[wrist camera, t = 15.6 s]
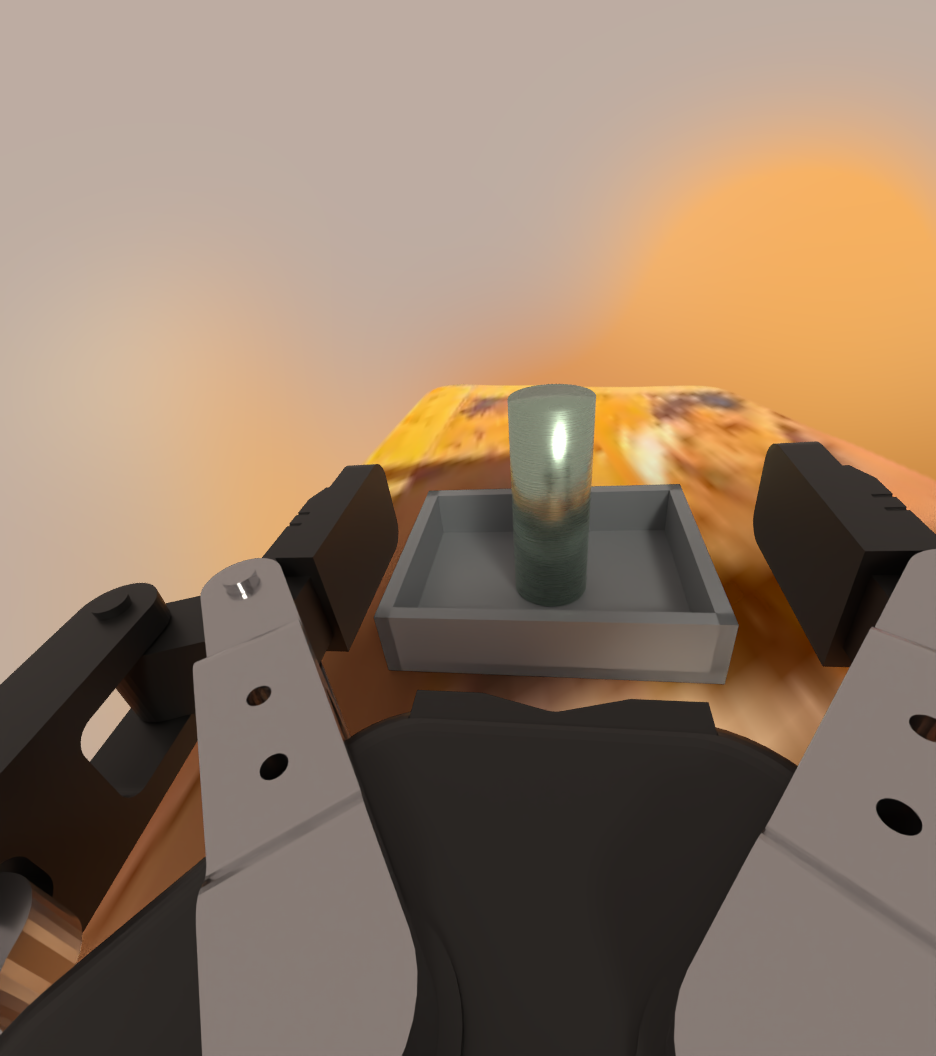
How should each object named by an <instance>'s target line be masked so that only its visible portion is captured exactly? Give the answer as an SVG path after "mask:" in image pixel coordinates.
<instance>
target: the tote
mask: <svg viewBox="0 0 936 1056" xmlns="http://www.w3.org/2000/svg"><path fill="white" fill-rule="evenodd" d="M374 620H375V623H376V627H377V630H378V634H379V637H380V641H381V644H382V648H383V651H384V655H385V659H386V662H387V666H388V669H389V670H401V671H425V672H449V673H472V674H496V675H520V676H544V677H568V678H591V679H615V680H639V681H663V682H686V683H710V684H725V680H726V676H727V672H728V668H729V664H730V659H731V655H732V651H733V647H734V643H735V639H736V634H737V630H738V626H739V625H738V623H737V620H736V618H735V615H734V613H733V611H732V608H731V606H730V603H729V601H728V599H727V596H726V594H725V591H724V589H723V587H722V584H721V582H720V579H719V577H718V575H717V572H716V570H715V567H714V565H713V563H712V560H711V558H710V555H709V553H708V551H707V548H706V546H705V543H704V541H703V539H702V536H701V534H700V531H699V529H698V527H697V524H696V522H695V520H694V517H693V515H692V512H691V510H690V508H689V505H688V503H687V500H686V498H685V496H684V493H683V491H682V488H681V486H680V484H669V485H632V486H595V487H591V502H590V521H589V541H588V560H587V580H586V590H585V592H584V594H583V595H582V596H581V597H580V598H579V599H578V600H576V601H574V602H572V603H570V604H567V605H562V606H542V605H537V604H534V603H532V602H529V601H528V600H526V599H524V598H523V597H522V596H521V595H520V594H519V593H518V591H517V589H516V580H515V557H514V534H513V511H512V489H483V490H446V491H429V492H428V495H427V497H426V499H425V502H424V504H423V506H422V508H421V511H420V513H419V515H418V518H417V520H416V522H415V524H414V527H413V529H412V531H411V534H410V536H409V538H408V540H407V543H406V545H405V547H404V550H403V552H402V554H401V556H400V559H399V561H398V563H397V565H396V568H395V570H394V572H393V575H392V577H391V579H390V581H389V584H388V586H387V588H386V591H385V593H384V595H383V597H382V600H381V602H380V604H379V607H378V609H377V611H376V613H375V616H374Z"/></svg>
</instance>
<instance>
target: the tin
mask: <svg viewBox="0 0 936 1056" xmlns="http://www.w3.org/2000/svg"><path fill="white" fill-rule="evenodd" d="M595 403H596V395H595V393H594V392H593V391H591V390H590V389H587V388H584V387H581V386H576V385H567V384H547V385H537V386H532V387H527V388H524V389H520V390H518V391H516V392H514V393H512V394H511V395H510V396H509V397H508V418H509V441H510V465H511V488H512V511H513V534H514V557H515V580H516V589H517V591H518V593H519V594H520V595H521V596H522V597H523V598H524V599H526V600H528V601H529V602H532V603H534V604H537V605H542V606H562V605H567V604H570V603H572V602H574V601H576V600H578V599H579V598H580V597H581V596H582V595H583V594H584V592H585V590H586V580H587V560H588V541H589V521H590V502H591V482H592V462H593V443H594V423H595Z"/></svg>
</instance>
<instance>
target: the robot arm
mask: <svg viewBox="0 0 936 1056" xmlns="http://www.w3.org/2000/svg"><path fill="white" fill-rule="evenodd" d="M298 513H299V515H297V516H295V517H294V519H293V520H292V521H291V522H290V526H288V527H286V529H285V530H284V531H283V532H282V534H281V535H280V536H279V537H278V538H277V540H276V541H275V542H274V544H273V545H272V546H271V547H270V548H269V550H268V551H267V552H266V553H265V555H264V556H263V557H262V558H255V559H250V560H245V561H242V562H239V563H236V564H234V565H231V566H229V567H227V568H225V569H223V570H222V571H220V572H219V573H217V574H216V575H215V576H213V577H212V578H211V579H210V580H209V581H208V582H207V583H206V585H205V586H204V587H203V589H202V592H201V596H197V597H193V598H189V599H184V600H179V601H175V602H170V603H166V604H165V602H164V600H163V599H162V597H161V596H160V594H159V592H158V591H157V589H156V588H155V587H154V586H153V585H151V584H147V583H135V584H130V585H126V586H122V587H119V588H116V589H113V590H111V591H109V592H106V593H104V594H102V595H101V596H99V597H97V598H95V599H94V600H92V601H91V602H89V603H88V604H86V605H85V606H84V607H83V608H82V609H80V610H79V611H78V612H77V613H76V614H75V615H74V616H73V617H72V618H71V619H70V620H69V621H68V622H66V623H65V624H64V625H63V626H62V627H61V628H60V629H59V630H58V631H57V632H56V633H55V634H54V635H53V636H52V637H51V638H49V639H48V640H47V641H46V642H45V643H44V644H43V645H42V646H41V647H40V648H39V649H38V650H37V651H36V652H35V653H34V654H33V655H31V656H30V657H29V658H28V659H27V660H26V661H25V662H24V663H23V664H22V665H21V666H20V667H19V668H18V669H17V670H16V671H14V673H12V674H11V675H10V676H9V677H8V678H7V679H6V680H5V681H4V682H3V683H2V684H1V685H0V1056H936V534H935V533H934V532H933V531H931V530H930V529H929V528H928V527H927V526H926V525H925V524H924V523H923V522H922V521H921V520H920V519H919V518H918V517H917V516H916V515H915V514H914V513H912V512H911V511H910V510H906V506H905V505H904V504H903V503H902V502H901V501H900V500H899V499H898V498H897V497H892V493H891V492H890V491H889V490H888V489H887V488H886V487H885V486H884V485H883V484H882V483H881V482H880V481H879V480H878V479H877V478H875V477H873V476H871V475H869V474H866V473H864V472H862V471H860V470H858V469H856V468H854V467H852V466H850V465H844V466H842V465H841V464H840V463H839V462H838V461H837V460H836V459H835V458H834V457H833V456H832V455H831V454H830V452H829V451H828V450H827V449H826V448H825V447H824V446H823V445H822V444H820V443H819V442H799V443H780V444H772V445H771V446H770V447H769V449H768V451H767V454H766V457H765V462H764V467H763V472H762V477H761V481H760V486H759V491H758V496H757V501H756V506H755V510H754V518H753V528H754V535H755V539H756V542H757V544H758V546H759V548H760V550H761V552H762V554H763V555H764V557H765V559H766V561H767V563H768V565H769V567H770V569H771V570H772V572H773V574H774V576H775V578H776V580H777V582H778V583H779V585H780V587H781V589H782V591H783V593H784V595H785V597H786V598H787V600H788V602H789V604H790V606H791V608H792V610H793V611H794V613H795V615H796V617H797V619H798V621H799V623H800V625H801V626H802V628H803V630H804V632H805V634H806V636H807V638H808V639H809V641H810V643H811V645H812V647H813V649H814V651H815V653H816V654H817V656H818V658H819V660H820V662H821V664H822V666H829V667H850V668H849V670H848V672H847V674H846V676H845V678H844V680H843V682H842V683H841V685H840V687H839V689H838V691H837V693H836V695H835V697H834V699H833V701H832V702H831V704H830V706H829V708H828V710H827V712H826V714H825V716H824V718H823V720H822V722H821V723H820V725H819V727H818V729H817V731H816V733H815V735H814V737H813V739H812V741H811V743H810V744H809V746H808V748H807V750H806V752H805V754H804V756H803V758H802V760H801V762H800V763H799V765H798V766H797V765H795V764H794V763H793V762H791V761H790V760H788V759H787V758H785V757H783V756H781V755H780V754H778V753H776V752H774V751H773V750H771V749H769V748H767V747H765V746H763V745H761V744H759V743H757V742H755V741H753V740H750V739H748V738H746V737H743V736H741V735H738V734H735V733H732V732H730V731H727V730H723V729H720V728H716V727H715V724H714V721H713V717H712V713H711V710H710V706H709V703H708V702H685V701H662V700H639V699H628V700H623V701H617V702H611V703H606V704H600V705H594V706H589V707H583V708H577V709H572V710H566V711H559V712H552V711H547V710H543V709H539V708H536V707H532V706H528V705H525V704H521V703H518V702H514V701H510V700H507V699H503V698H500V697H496V696H492V695H489V694H485V693H475V692H452V691H429V690H417V693H416V696H415V700H414V703H413V706H412V710H411V712H408V713H403V714H400V715H396V716H393V717H390V718H387V719H384V720H382V721H380V722H377V723H375V724H372V725H371V726H369V727H367V728H365V729H363V730H361V731H359V732H358V733H356V734H355V735H353V736H352V737H350V734H349V732H348V729H347V726H346V724H345V721H344V719H343V716H342V713H341V711H340V708H339V705H338V703H337V700H336V698H335V695H334V692H333V690H332V687H331V685H330V682H329V679H328V677H327V674H326V672H325V669H324V667H323V664H322V662H321V660H322V658H323V656H324V654H325V652H326V651H346V652H349V650H350V647H351V645H352V643H353V641H354V639H355V637H356V634H357V632H358V630H359V628H360V626H361V623H362V621H363V619H364V617H365V615H366V613H367V610H368V608H369V606H370V604H371V602H372V600H373V597H374V595H375V593H376V591H377V589H378V587H379V584H380V582H381V580H382V578H383V576H384V573H385V571H386V569H387V567H388V565H389V563H390V560H391V558H392V556H393V554H394V552H395V550H396V547H397V543H398V524H397V519H396V515H395V511H394V507H393V503H392V499H391V495H390V491H389V487H388V484H387V480H386V476H385V472H384V470H383V468H382V467H381V466H380V465H379V464H373V465H356V466H355V465H354V466H346V467H345V468H344V469H343V471H342V472H341V473H340V474H339V476H338V477H337V478H336V480H335V481H334V482H333V484H332V485H331V486H330V487H329V488H325V489H324V490H322V491H321V492H319V493H318V494H316V495H315V496H313V497H312V498H310V499H309V500H308V501H307V503H306V504H305V505H304V506H303V507H302V509H301V510H300V511H299V512H298ZM115 688H116V689H117V690H118V692H119V693H120V694H121V696H122V697H123V698H124V699H125V701H126V702H127V703H128V704H129V706H130V707H131V709H130V710H129V711H128V713H127V714H126V716H125V717H124V718H123V719H122V721H121V722H120V723H119V725H118V726H117V727H116V728H115V730H114V731H113V732H112V734H111V735H110V736H109V738H108V739H107V740H106V742H105V743H104V744H103V745H102V747H101V748H100V749H99V751H98V752H97V753H96V755H95V756H94V757H93V759H92V760H91V761H90V762H89V761H88V760H87V759H86V758H85V756H84V755H83V753H82V750H81V736H82V732H83V730H84V728H85V726H86V724H87V722H88V721H89V720H90V718H91V717H92V716H93V715H94V714H95V712H96V711H97V710H98V709H99V707H100V706H101V705H102V704H103V703H104V701H105V700H106V699H107V698H108V697H109V695H110V694H111V693H112V691H113V690H114V689H115ZM197 740H198V752H199V766H200V780H201V794H202V808H203V822H204V836H205V850H206V857H204V858H203V859H202V860H201V861H200V862H198V863H197V864H196V865H195V866H194V867H192V868H191V869H190V870H189V871H188V872H186V873H185V874H184V875H183V876H182V877H180V878H179V879H178V880H177V881H176V882H174V883H173V884H172V885H171V886H170V887H168V888H167V889H166V890H165V891H164V892H162V893H161V894H160V895H159V896H158V897H156V898H155V899H154V900H153V901H152V902H150V903H149V904H148V905H147V906H146V907H144V908H143V909H142V910H141V911H140V912H138V913H137V914H136V915H135V916H134V917H132V918H131V919H130V920H129V921H128V922H126V923H125V924H124V925H123V926H122V927H120V928H119V929H118V930H117V931H116V932H114V933H113V934H112V935H111V936H110V937H108V938H107V939H106V940H105V941H104V942H102V943H101V944H100V945H99V946H98V947H96V948H95V949H94V950H93V951H92V952H90V953H89V954H88V955H87V956H86V957H84V958H83V959H82V960H81V961H80V962H78V963H77V964H76V962H77V959H78V956H79V953H80V949H81V944H82V933H83V931H84V930H85V928H86V926H87V925H88V923H89V921H90V920H91V918H92V916H93V915H94V913H95V911H96V910H97V908H98V906H99V905H100V903H101V901H102V900H103V898H104V896H105V895H106V893H107V891H108V890H109V888H110V886H111V885H112V883H113V881H114V879H115V878H116V876H117V874H118V873H119V871H120V869H121V868H122V866H123V864H124V863H125V861H126V859H127V858H128V856H129V854H130V853H131V851H132V849H133V848H134V846H135V844H136V843H137V841H138V839H139V838H140V836H141V834H142V833H143V831H144V829H145V828H146V826H147V824H148V823H149V821H150V819H151V817H152V816H153V814H154V812H155V811H156V809H157V807H158V806H159V804H160V802H161V801H162V799H163V797H164V796H165V794H166V792H167V791H168V789H169V787H170V786H171V784H172V782H173V781H174V779H175V777H176V776H177V774H178V772H179V771H180V769H181V767H182V766H183V764H184V762H185V760H186V759H187V757H188V755H189V754H190V752H191V750H192V749H193V747H194V745H195V744H196V742H197Z"/></svg>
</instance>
